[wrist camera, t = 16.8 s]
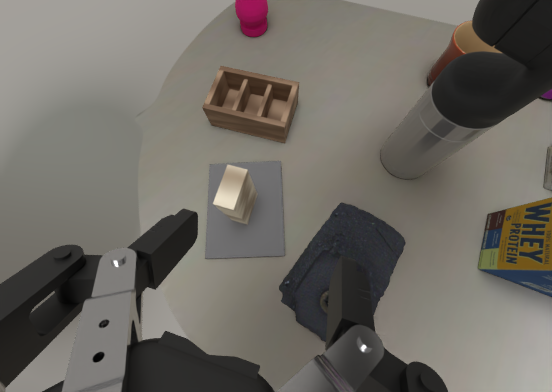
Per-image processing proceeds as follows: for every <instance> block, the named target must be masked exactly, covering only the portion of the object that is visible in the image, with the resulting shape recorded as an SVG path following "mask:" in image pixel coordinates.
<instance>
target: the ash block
mask: <svg viewBox="0 0 552 392" xmlns="http://www.w3.org/2000/svg"><path fill="white" fill-rule="evenodd" d="M257 195H258V194H257V192H256V189H255V187H254V184H253V182H252V179H251V177H250V174H249V172H248V170H247V169H243V168H239V167H235V166H232V165H227V167H226V170H225V173H224V175H223V178H222V181H221V183H220V186H219V189H218V191H217V194H216V196H215V199H214V202H213V205H215V206H216V207H217V208H218V209H219V210H220V211H222V212H223V213H224V214H225V215H226V216H228V217H229V218H230V219H231V220H233V221H236V222H240V223H243V224H246V225H248V222H249V219H250V216H251V213H252V210H253V207H254V204H255V201H256V198H257Z"/></svg>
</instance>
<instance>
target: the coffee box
mask: <svg viewBox="0 0 552 392" xmlns="http://www.w3.org/2000/svg"><path fill="white" fill-rule="evenodd" d="M544 188H546V189H549V190H552V146H550V147H548V154H547V163H546V173H545V181H544Z"/></svg>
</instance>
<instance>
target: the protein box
mask: <svg viewBox="0 0 552 392" xmlns="http://www.w3.org/2000/svg"><path fill="white" fill-rule="evenodd" d="M478 269H480V270H482V271H485V272H488V273H490V274H493V275H496V276H498V277H501V278H504V279H506V280H509V281H512V282H514V283H517V284H520V285H522V286H525V287H527V288H530V289H533V290H535V291H538V292H540V293H543V294H545V295H548V296H551V297H552V198H548V199H544V200H540V201H536V202H532V203H528V204H524V205H521V206H517V207H513V208H509V209H505V210H502V211H498V212H494V213H490V214H488V218H487V224H486V229H485V234H484V239H483V244H482V250H481V255H480V260H479V266H478Z"/></svg>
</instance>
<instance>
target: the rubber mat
mask: <svg viewBox="0 0 552 392" xmlns="http://www.w3.org/2000/svg"><path fill="white" fill-rule="evenodd" d="M227 165H232V166H235V167H239V168H243V169H247V170H248V172H249V174H250V177H251V179H252V182H253V184H254V187H255V189H256V192H257V194H258V195H257V198H256V201H255V204H254V207H253V210H252V213H251V216H250V219H249V222H248V225H246V224H243V223H240V222H236V221H233V220H231V219H230V218H229V217H228V216H226V215H225V214H224V213H223V212H222V211H220V210H219V209H218V208H217V207H216V206H215V205H213V202H214V199H215V196H216V194H217V191H218V189H219V186H220V183H221V181H222V178H223V175H224V173H225V170H226V167H227ZM266 256H285V249H284V226H283V202H282V178H281V161H267V162H246V163H226V164H210V170H209V190H208V211H207V231H206V252H205V259H211V258H238V257H266Z"/></svg>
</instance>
